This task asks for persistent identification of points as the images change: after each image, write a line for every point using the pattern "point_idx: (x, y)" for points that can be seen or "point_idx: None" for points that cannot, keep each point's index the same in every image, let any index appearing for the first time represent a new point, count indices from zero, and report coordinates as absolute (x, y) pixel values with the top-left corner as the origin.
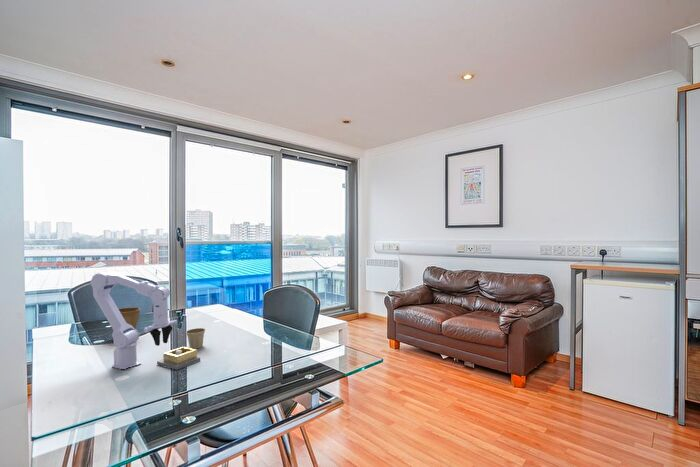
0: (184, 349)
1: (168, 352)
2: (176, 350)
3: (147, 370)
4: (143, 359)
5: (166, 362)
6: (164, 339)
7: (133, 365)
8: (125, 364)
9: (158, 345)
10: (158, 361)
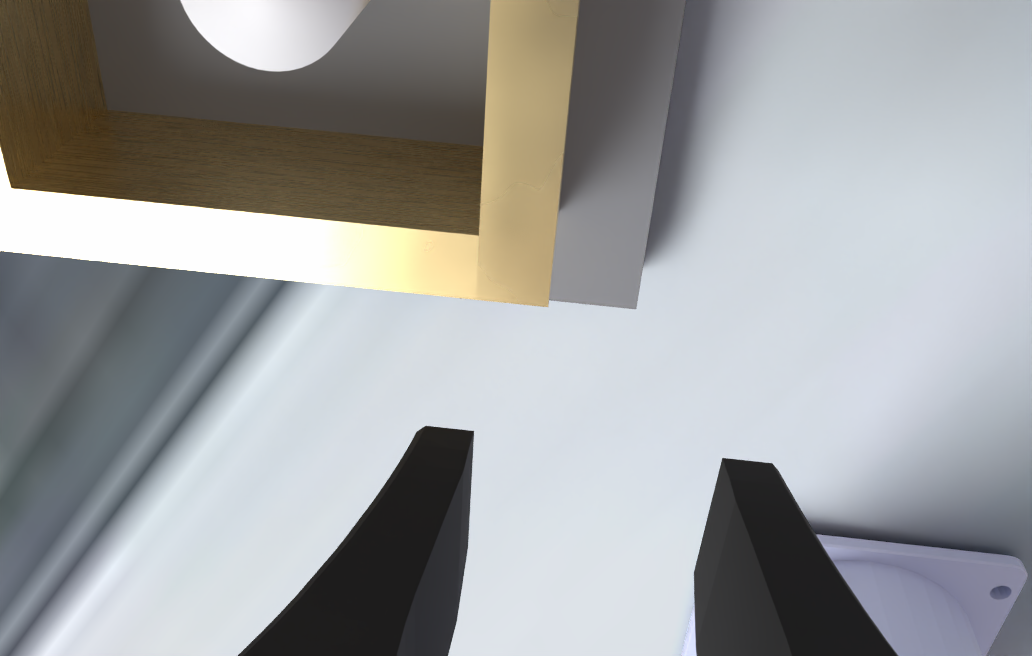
0: (11, 90)
1: (450, 229)
2: (210, 197)
3: (943, 190)
4: (543, 632)
5: (614, 50)
6: (449, 594)
7: (849, 554)
8: (964, 634)
9: (766, 465)
10: (631, 275)
